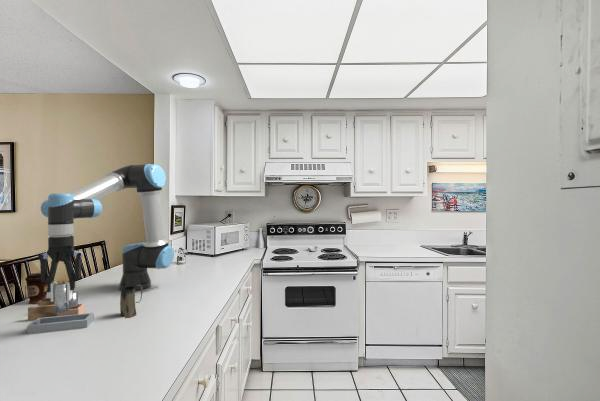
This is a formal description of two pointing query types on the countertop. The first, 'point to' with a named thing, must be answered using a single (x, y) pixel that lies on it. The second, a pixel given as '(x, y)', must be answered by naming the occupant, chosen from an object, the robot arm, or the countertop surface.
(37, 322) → the trough
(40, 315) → the checker cradle
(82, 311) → the pink square tray
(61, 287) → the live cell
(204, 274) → the countertop surface
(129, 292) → the mug
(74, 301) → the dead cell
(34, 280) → the coffee cup
